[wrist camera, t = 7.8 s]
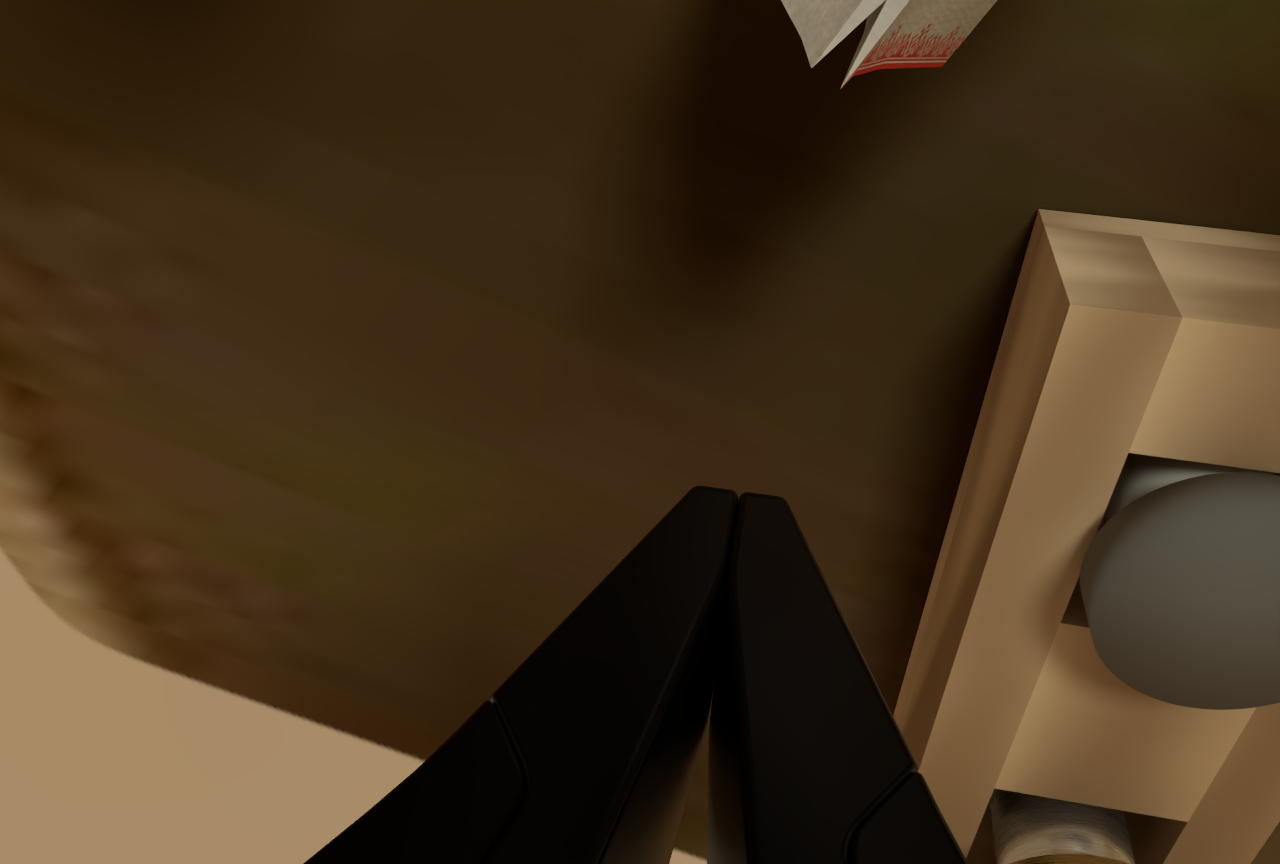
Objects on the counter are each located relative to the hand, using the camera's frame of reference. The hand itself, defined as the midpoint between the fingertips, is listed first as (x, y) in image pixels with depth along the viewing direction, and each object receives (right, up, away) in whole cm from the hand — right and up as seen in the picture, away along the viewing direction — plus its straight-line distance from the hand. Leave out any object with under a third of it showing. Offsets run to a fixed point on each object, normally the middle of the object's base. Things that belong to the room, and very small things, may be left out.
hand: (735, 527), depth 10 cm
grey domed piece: (+11, 0, +12) cm, 16 cm away
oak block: (+11, -3, +16) cm, 20 cm away
